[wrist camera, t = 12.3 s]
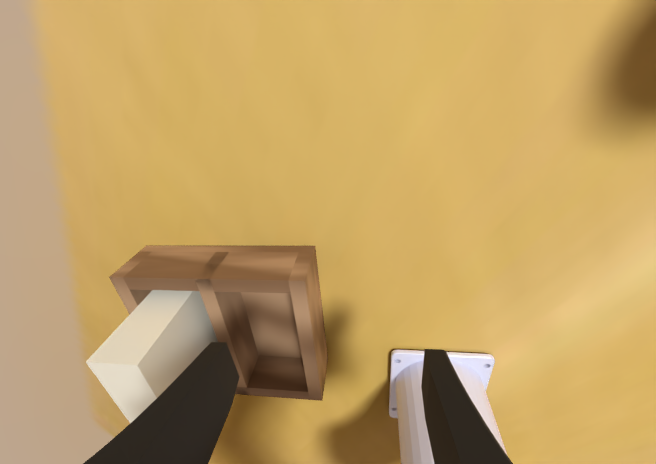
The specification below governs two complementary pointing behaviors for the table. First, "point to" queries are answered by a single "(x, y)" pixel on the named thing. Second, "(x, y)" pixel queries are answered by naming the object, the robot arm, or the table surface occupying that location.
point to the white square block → (152, 348)
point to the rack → (246, 308)
